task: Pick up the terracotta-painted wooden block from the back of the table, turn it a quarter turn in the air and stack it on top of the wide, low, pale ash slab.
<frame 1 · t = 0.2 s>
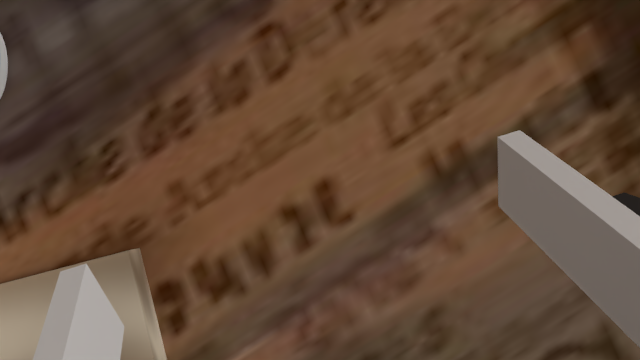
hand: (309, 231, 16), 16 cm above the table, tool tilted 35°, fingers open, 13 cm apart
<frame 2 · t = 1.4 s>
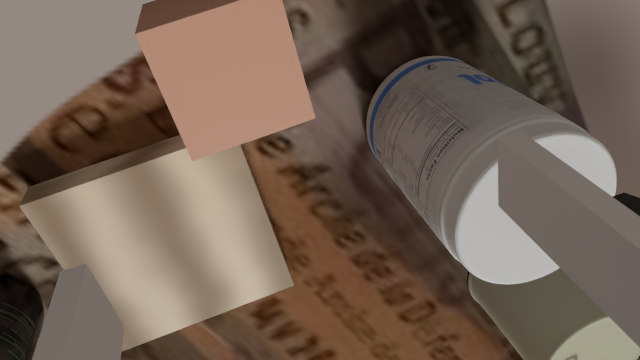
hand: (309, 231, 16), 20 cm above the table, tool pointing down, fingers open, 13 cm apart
ash slab: (173, 227, 38), on the table
can: (509, 267, 49), on the table
terracotta block: (219, 42, 32), on the table
supplement tub: (419, 113, 38), on the table
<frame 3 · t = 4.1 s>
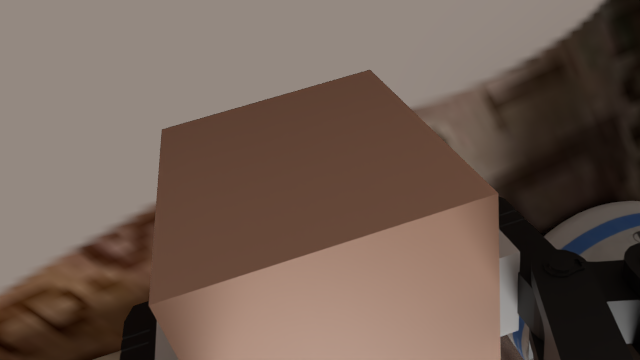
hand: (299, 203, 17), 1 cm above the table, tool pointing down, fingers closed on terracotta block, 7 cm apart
terracotta block: (292, 187, 18), on the table, touching gripper
supplement tub: (579, 272, 25), on the table
when the fingers open (5 cm above the table, at t = 11.4 s): terracotta block drops 2 cm, point 2 cm above the table.
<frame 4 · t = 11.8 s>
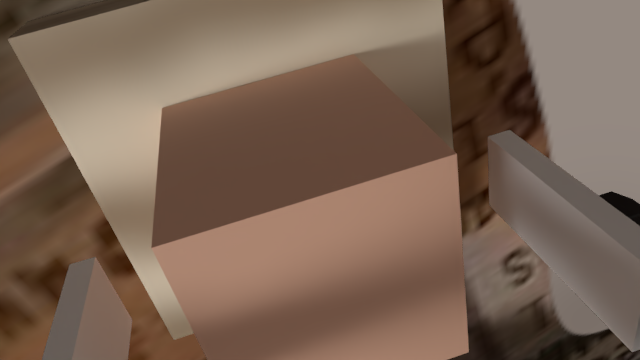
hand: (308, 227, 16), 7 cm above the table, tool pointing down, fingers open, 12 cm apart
ash slab: (272, 132, 22), on the table
terracotta block: (283, 164, 20), point 2 cm above the table
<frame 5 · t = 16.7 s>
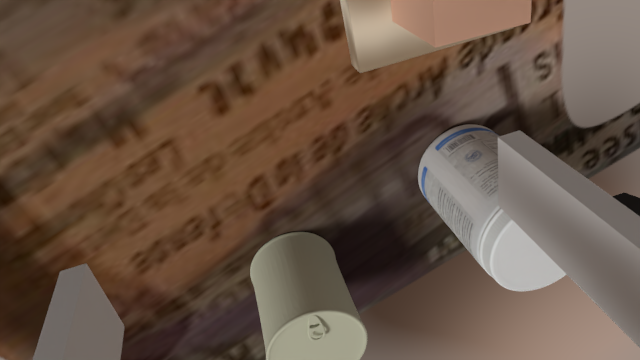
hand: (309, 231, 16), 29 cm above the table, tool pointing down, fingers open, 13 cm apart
can: (293, 265, 54), on the table
supplement tub: (456, 162, 52), on the table
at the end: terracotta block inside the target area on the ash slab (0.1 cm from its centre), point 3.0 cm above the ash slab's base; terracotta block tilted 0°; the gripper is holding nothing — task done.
